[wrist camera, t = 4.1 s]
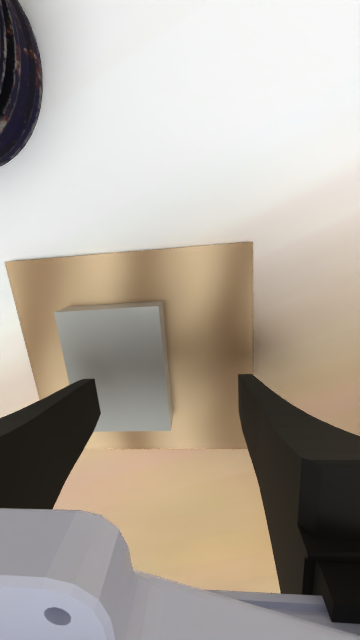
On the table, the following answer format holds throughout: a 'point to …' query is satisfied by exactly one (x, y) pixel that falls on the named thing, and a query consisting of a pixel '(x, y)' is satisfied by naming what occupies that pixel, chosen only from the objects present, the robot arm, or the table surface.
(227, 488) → the table surface
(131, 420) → the tile
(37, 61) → the storage jar
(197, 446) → the wooden board
